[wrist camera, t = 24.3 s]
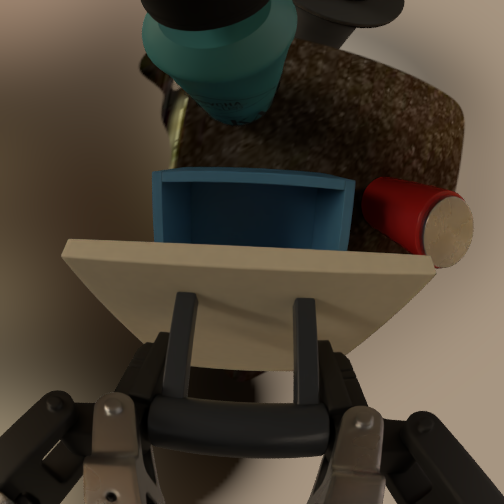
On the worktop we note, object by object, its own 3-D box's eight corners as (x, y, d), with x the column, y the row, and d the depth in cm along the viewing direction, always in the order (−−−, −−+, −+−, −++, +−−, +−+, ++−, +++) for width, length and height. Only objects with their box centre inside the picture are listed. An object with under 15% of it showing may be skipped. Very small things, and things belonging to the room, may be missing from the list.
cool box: (185, 167, 24) (151, 171, 16) (323, 173, 24) (355, 180, 16) (189, 303, 29) (167, 354, 21) (308, 309, 29) (323, 362, 21)
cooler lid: (68, 238, 8) (19, 404, 5) (431, 254, 8) (463, 428, 4) (167, 353, 20) (158, 423, 17) (324, 361, 20) (325, 432, 17)
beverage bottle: (204, 68, 21) (106, -72, 2) (275, 66, 21) (312, -96, 2) (203, 131, 23) (57, 69, 4) (275, 130, 23) (340, 36, 4)
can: (363, 173, 24) (427, 185, 14) (410, 180, 24) (481, 198, 13) (357, 228, 26) (412, 271, 15) (403, 232, 26) (466, 272, 15)
